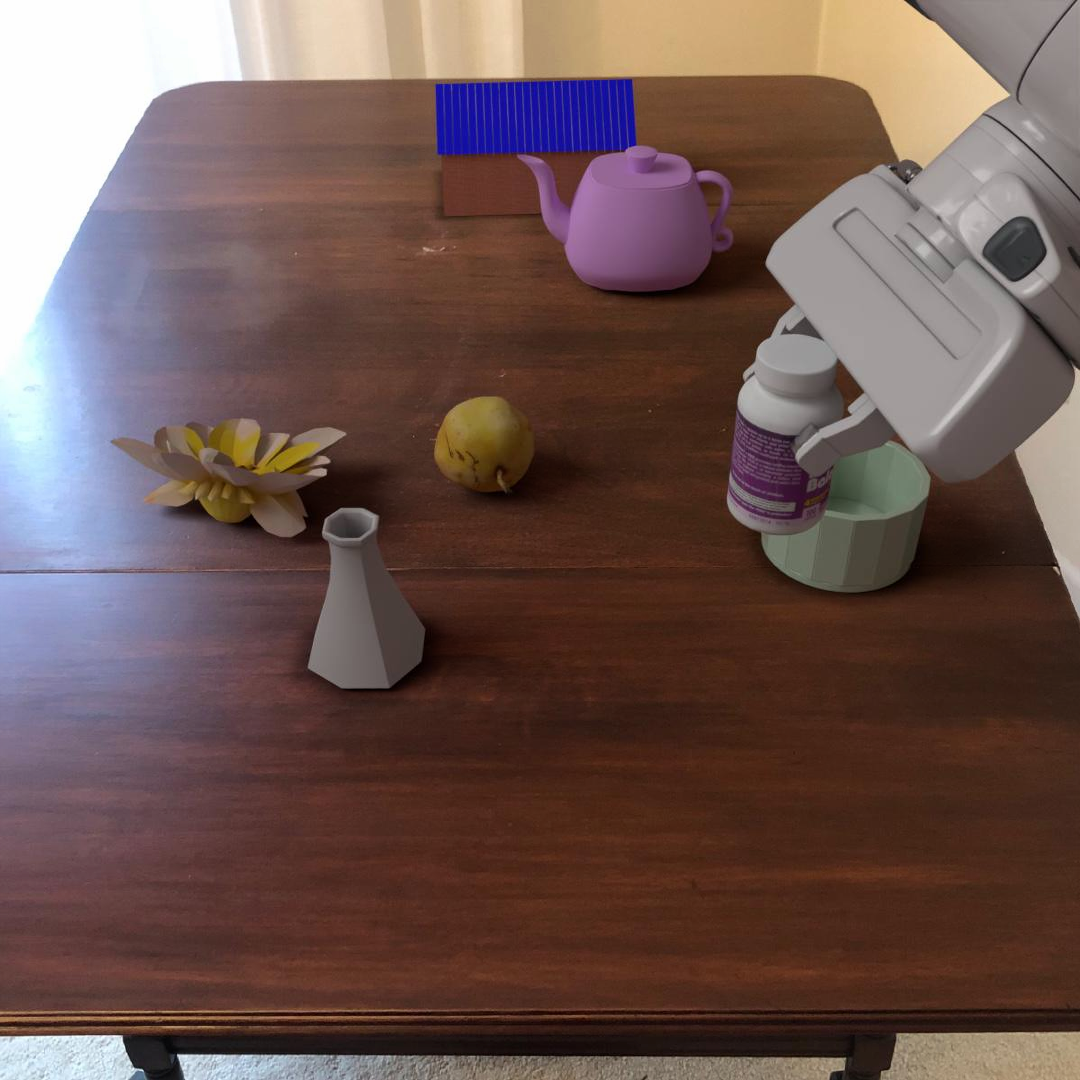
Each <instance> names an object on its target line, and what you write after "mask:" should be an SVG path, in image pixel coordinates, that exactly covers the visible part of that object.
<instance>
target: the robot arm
mask: <svg viewBox="0 0 1080 1080" xmlns="http://www.w3.org/2000/svg"><path fill="white" fill-rule="evenodd" d="M903 1H904V2H905V3H907V4H908V5H909V6H910V7H911V8H913V9H914V11H915V10H916V11H917V12H918V13H919V14H920V15H921V16H923V17H924V18H926V19H927V20H929V21H931V22H934V23H935V24H936V25H937V26H938V27H939V28H940V29H941V30H942V31H943V32H944V33H945V34H946V35H947V36H949V38H950V39H952V41H954V43H956V44H957V45H958V46H959V47H960V48H961V49H962V50H963V51H964V52H965V53H966V54H967V55H968V56H969V57H970V58H971V59H972V60H973V61H974V62H975V63H976V64H977V65H978V66H980V68H982V69H983V70H984V71H985V73H987V74H988V76H990V77H991V78H992V79H993V80H994V81H995V82H996V83H997V84H998V85H999V86H1000V87H1001V88H1002V89H1003V90H1004V91H1005V92H1006V93H1007V94H1009V95H1008V96H1006V97H1005V98H1003V99H1001V100H999V101H997V102H996V103H993V104H992V105H990V106H989V107H988V108H987V109H986V110H984V111H982V113H981V114H980V115H979V116H978V117H976V119H974V121H973V122H972V123H970V125H968V126H967V127H966V128H965V129H964V130H963V131H962V132H961V133H960V134H959V135H957V137H956V138H954V139H953V141H952V142H950V144H948V145H947V146H946V147H945V148H944V149H943V150H942V151H941V152H939V154H938V155H936V156H935V157H934V158H933V159H932V160H931V161H930V162H929V163H928V164H927V165H926V166H925V167H924V168H923V167H922V166H921V165H920V164H919V163H918V162H916V161H914V160H912V159H909V158H906V159H902V160H901V161H898V162H897V161H894V162H890V163H887V164H885V163H884V164H883V163H882V164H879V165H877V166H875V167H874V168H873V169H871V170H870V171H869V172H868V173H862V174H859V175H856V176H855V177H853V178H851V179H849V180H848V181H847V182H845V183H843V184H842V185H840V186H839V187H837V188H836V189H835V190H834V191H832V192H831V193H830V194H829V195H827V196H826V197H824V198H823V199H822V200H821V201H820V202H818V203H817V204H816V205H814V207H812V208H811V209H810V210H809V211H808V212H806V213H805V214H804V215H803V216H802V217H800V219H798V220H797V221H796V222H794V224H792V225H791V226H790V227H789V228H788V229H786V230H785V231H784V232H783V233H782V234H781V235H780V236H779V237H778V238H777V239H776V240H775V241H774V243H773V244H772V246H771V248H770V250H769V253H768V255H767V257H766V260H765V267H766V269H767V270H768V271H769V272H770V274H771V275H772V276H773V278H774V279H775V280H776V282H777V283H778V284H779V285H780V287H781V288H782V289H783V290H784V292H785V293H786V294H787V296H788V297H789V298H790V299H791V301H792V302H793V303H794V304H793V305H792V306H791V307H790V309H788V310H787V311H786V312H785V313H784V314H783V315H782V316H781V317H780V318H778V320H777V323H776V325H775V327H774V329H773V331H772V333H771V336H770V337H769V338H771V337H774V336H779V335H786V334H800V335H806V336H811V337H814V338H817V339H820V340H822V341H824V342H826V344H827V345H828V346H829V348H830V349H831V350H832V351H833V353H834V354H835V355H836V356H837V358H838V361H839V362H840V363H841V364H842V365H843V367H844V368H845V369H846V371H847V372H848V373H849V374H850V376H851V377H852V378H853V379H854V381H855V382H856V383H857V385H858V386H859V387H860V389H861V390H862V391H863V393H862V394H861V395H860V396H858V397H857V398H856V399H855V400H854V401H853V402H852V403H851V404H850V405H849V406H848V407H847V411H848V412H849V413H850V415H849V416H847V417H845V418H843V419H842V420H840V421H838V422H835V423H833V424H831V425H829V426H826V427H824V428H822V429H819V428H818V427H817V426H816V425H815V424H813V423H812V422H811V423H810V424H809V425H808V426H806V427H805V428H804V429H803V430H802V431H801V433H800V435H799V436H797V437H794V438H793V439H792V440H791V441H790V443H789V451H790V452H791V454H792V455H793V457H794V459H795V460H796V462H797V463H798V465H799V466H800V467H801V468H802V469H803V470H805V471H806V472H807V473H808V474H809V475H811V476H813V477H818V476H821V475H822V474H823V473H825V472H826V471H827V470H828V469H829V468H830V467H831V466H833V465H834V464H835V463H836V462H837V461H838V460H840V459H841V458H842V457H843V456H844V457H847V456H851V455H854V454H858V453H861V452H864V451H868V450H871V449H875V448H878V447H882V446H883V445H884V444H885V443H887V442H888V441H889V440H892V438H894V437H895V436H896V435H898V437H899V438H900V439H901V440H902V442H903V443H904V445H905V446H906V447H907V449H908V450H909V451H910V452H911V453H913V454H914V455H915V456H916V457H917V458H918V459H919V460H920V461H921V462H922V463H923V464H924V466H925V468H926V469H928V470H929V471H930V472H932V473H933V474H934V475H935V476H936V477H937V478H938V479H939V480H941V481H942V482H943V483H945V484H949V485H951V484H958V483H964V482H970V481H973V480H976V479H979V478H980V477H982V476H983V475H985V474H986V473H988V472H990V471H991V470H992V469H993V468H994V467H995V466H997V465H998V464H1000V463H1001V462H1002V461H1003V460H1005V458H1007V457H1008V456H1009V455H1011V454H1012V453H1013V452H1015V450H1017V449H1018V448H1019V447H1020V446H1021V445H1022V444H1023V443H1025V442H1026V441H1027V440H1028V439H1029V438H1030V437H1032V436H1033V435H1034V434H1035V433H1036V432H1037V431H1038V430H1039V429H1041V428H1042V427H1043V426H1044V425H1045V424H1046V423H1047V422H1048V421H1049V420H1050V419H1051V418H1052V417H1053V416H1054V415H1055V414H1057V412H1058V411H1059V410H1060V409H1061V407H1063V405H1064V404H1065V403H1066V401H1067V400H1068V398H1069V397H1070V395H1071V393H1072V391H1073V389H1074V386H1075V384H1076V383H1075V382H1076V372H1075V368H1076V369H1077V370H1079V371H1080V0H903ZM894 171H896V173H894ZM754 367H755V361H754V362H753V363H752V364H751V365H750V366H749V367H748V368H747V369H746V370H745V371H744V372H743V373H742V378H743V382H744V384H745V383H746V382H747V381H748V380H749V379H750V378H751V377H752V376H754V375H755V372H754Z"/></svg>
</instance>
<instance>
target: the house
mask: <svg viewBox="0 0 1080 1080" xmlns="http://www.w3.org/2000/svg"><path fill="white" fill-rule="evenodd" d="M434 86H435V89H434V90H435V119H436V120H435V121H436V151H437V152H436V154H437V156H440V162H441V164H440V165H441V181H442V195H443V197H442V198H443V211H444V214H443V215H444V217H468V216H473V217H474V216H496V215H497V216H504V215H537V214H538V215H539V214H541V215H542V211H541V203H540V193H539V186H538V182H537V179H536V177H535V174H534V173H533V171H532V170H531V168H530V167H529V166H527V165H526V164H525V163H524V162H523V161H521V160H520V159H519V158H518V157H517V155H528V156H532V157H536V158H539V159H541V160H543V161H544V162H546V163H547V164H548V165H549V167H550V168H551V170H552V172H553V176H554V180H555V187H556V192H557V195H558V197H559V199H560V200H561V202H562V203H564V204H565V205H566V206H568V207H569V208H570V207H571V204H572V200H573V198H574V195H575V193H576V191H577V188H578V186H579V184H580V182H581V180H582V178H583V176H584V174H585V172H586V170H587V168H588V166H589V165H590V163H591V161H592V160H594V159H595V158H597V157H599V156H602V155H606V154H612V153H622V152H625V151H626V149H628V148H630V147H633V146H638V145H637V131H636V129H637V128H636V116H635V115H636V114H635V99H634V86H633V78H614V79H577V80H576V79H575V80H573V79H572V80H539V81H536V80H535V81H500V82H499V81H497V82H462V83H461V82H459V83H458V82H457V83H455V82H454V83H435V84H434Z"/></svg>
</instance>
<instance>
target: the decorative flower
mask: <svg viewBox="0 0 1080 1080" xmlns="http://www.w3.org/2000/svg"><path fill="white" fill-rule="evenodd" d="M155 431H156V432H155V433H154V436H153V444H154V445H152V444H149V443H147V442H144V441H142V440H139V439H136V438H132V437H131V438H130V437H122V436H120V437H117V438H114V439H111V440H110V441H109V443H110V444H112V445H113V446H115V447H116V448H118V449H120V450H121V452H124V453H125V454H126V455H128V456H129V457H131V458H132V459H133V460H135V461H136V462H138V463H139V464H141V465H143V466H144V467H146V468H148V469H150V470H151V471H154V472H156V473H158V474H160V475H162V476H165V477H167V478H170V479H172V480H170V481H168V482H166V483H164V484H163V485H162V486H160V487H158V488H156V489H155V490H154V491H152V492H151V493H149V494H148V495H146V496H145V498H143V500H142V503H146V504H150V505H151V504H152V505H161V506H168V507H180V506H184V505H186V504H188V503H189V502H191V501H192V500H193V499H195V501H198V500H199V502H200V504H201V505H202V507H203V508H204V509H205V511H206V512H207V513H208V514H209V515H210V516H211V517H212V518H214V520H217V521H218V522H221V523H232V524H233V523H241V522H242V521H245V519H247V518H249V517H250V516H251V515H252V516H253V518H254V519H255V521H256V522H257V523H258V524H259V525H260V526H261V527H262V528H263V529H264V530H265V531H266V532H267V533H269V534H272V535H275V536H277V537H280V538H292V537H294V536H296V535H298V534H299V533H301V532H303V531H304V530H305V529H307V525H306V521H305V519H304V517H306V518H308V517H309V516H308V513H307V511H306V509H305V506H304V504H303V501H302V499H301V497H300V495H299V493H298V491H297V490H298V489H302V488H303V487H304V488H305V486H307V485H310V484H311V483H313V482H314V481H315V482H316V481H317V480H319V479H322V478H323V477H325V476H327V474H328V473H327V472H328V469H327V468H323V467H325V466H327V465H328V464H330V463H331V459H329V458H328V457H327V456H325V455H324V454H326V453H327V452H328V451H330V449H332V448H333V447H334V446H336V444H337V443H338V442H339V441H341V440H342V439H343V438H344V437H345V436H347V432H345V431H343V430H340V429H337V428H333V427H330V426H326V427H317V428H316V427H315V428H313V429H310V430H308V431H305V432H302V433H300V434H297V435H296V436H294V437H293V438H292V439H290V440H289V438H290V436H291V434H290V433H284V432H269V433H265V434H262V435H261V426H260V425H259V423H258V422H257V420H256V419H251V418H243V417H240V418H229V419H226V420H224V421H222V422H220V423H219V424H218V425H216V426H215V427H212V426H210V425H205V424H202V423H199V422H196V421H190V422H187V423H186V424H185V426H184V425H181V424H177V425H167V426H166V425H165V426H163V427H160V428H159V429H157V430H155ZM288 440H289V441H288ZM194 497H195V498H194Z"/></svg>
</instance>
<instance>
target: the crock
mask: <svg viewBox="0 0 1080 1080" xmlns="http://www.w3.org/2000/svg"><path fill="white" fill-rule="evenodd" d="M931 481H932V477H931V475H930V473H929V472H928V470H927V467H926V466H925V465H924V464H923V463H922V462H921V461H920V460H919V459H918V458H917V457H916V456H915V455H914V454H913V453H912V452H911V451H910V449H908V448H906V446H903V444H900V443H899V442H896V441H893V440H892V439H890V440H889V441H888V442H887V443H885V444H884V445H883V446H882V447H878V448H875V449H871V450H868V451H864V452H861V453H858V454H854V455H851V456H847V457H844V456H843V457H842V458H841V459H840V460H838V461H837V462H836V463H835V464H834V470H833V474H832V480H831V485H830V491H829V496H828V501H827V506H826V511H825V513H824V516H823V518H822V519H821V520H820V521H819V522H818V523H817V524H816V525H815V526H813V527H812V528H810V529H809V530H807V531H805V532H802V533H798V534H794V535H770V534H765V533H761V532H760V533H761V534H760V542H761V545H762V546H761V547H762V548H763V551H764V553H765V555H766V556H767V558H768V559H769V561H770V562H771V563H772V564H773V565H774V566H775V568H777V569H778V570H779V571H780V572H782V573H783V574H785V575H786V576H788V577H789V578H791V579H793V580H795V581H797V582H799V583H802V584H804V585H806V586H809V587H812V588H815V589H820V590H824V591H829V592H834V593H845V594H846V593H864V592H870V591H876V590H879V589H882V588H886V587H888V586H890V585H892V584H894V583H896V582H897V581H899V580H900V579H901V578H902V577H904V576H905V575H906V574H907V572H908V571H909V570H910V568H911V566H912V564H913V561H914V560H915V556H916V551H917V547H918V543H919V538H920V534H921V529H922V525H923V521H924V517H925V513H926V508H927V504H928V499H929V495H930V489H931V488H930V487H931Z"/></svg>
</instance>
